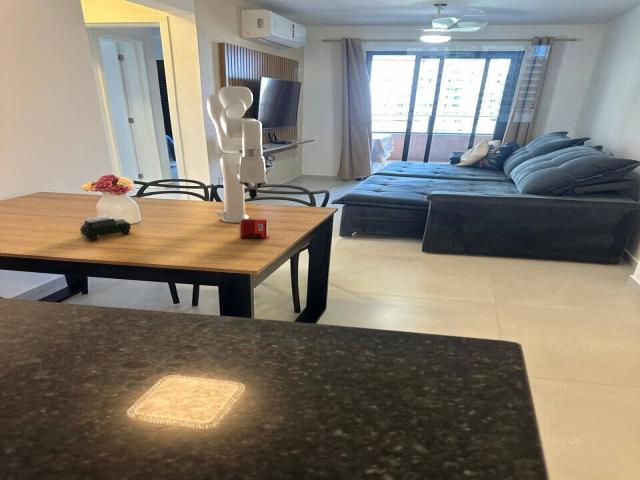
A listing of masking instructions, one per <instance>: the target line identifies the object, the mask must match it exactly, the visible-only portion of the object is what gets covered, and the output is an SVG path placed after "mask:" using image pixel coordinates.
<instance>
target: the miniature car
mask: <svg viewBox="0 0 640 480" xmlns="http://www.w3.org/2000/svg"><path fill="white" fill-rule="evenodd" d="M130 230H132V226H131V223H130V222H128V221H126V220H125V219H122V218H121V219H120V218H119V219H115V218H114V217H113V216H111V215H107V214H106V215H97V216H92V217H88V218H85V220H84V222H83V224H82V225H81V226H80V229H79V231H80V232H79V234H80V236H81V237H83V238H84V239H85V238H87V239H89V240H90V241H92V242H95V241H96V240H98V237H103V236H109V235H115V234H119V233H121V234H122V235H124V236H125V235H129V234H130V232H131V231H130Z"/></svg>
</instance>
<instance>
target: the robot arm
mask: <svg viewBox="0 0 640 480" xmlns="http://www.w3.org/2000/svg"><path fill="white" fill-rule="evenodd" d="M253 100H254V98H253V93H252V91H251V89H249V88H248V87H246V86H236V85H235V86H233V85H226V86H223V87H222V88H220V90H219V91H218V93H213V94H210V95H209V96H208V97H207V99H206V107H207V113H208V115H209V117H210V120H211V122H212V123H213V125H214V128H215V132H216V136H217V141H218V145H219V149H220V150H221V152H223V153H224V154H223V155H221V156H220V159H219V165H220V169H221V175H222V185H223V201H224V202H223V203H224V209H223V210H215V215H217V216H219V217H220V216H222V217H221V220H222V221H223V222H225V223H230V224H234V223H235V224H236V223H240V219H250V218H249V215H248V214H246V204H245V203H246V201H245V200H246V198H245V187H246V188H247V189H248V191H249V193H248V196H249V197H250V200H256V198H258V189H259V188H260V187H261V186H265V185H267V179H266V178H267V172H266V170H267V169H266V162H265V158H264V156H263V130H262V129H263V128H262V127H263V126H262V125H263V124H262V122H261V121H260V120H257V119H255V118H247V117H246V118H243V116H244V115H245V113H246V112H247V110H248V109H250V107H251V106H252V104H253ZM253 183H254V186H253Z"/></svg>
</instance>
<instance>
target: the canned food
mask: <svg viewBox="0 0 640 480" xmlns="http://www.w3.org/2000/svg"><path fill="white" fill-rule="evenodd" d="M268 226H269V225H268V219H266V218H249V219H240V222H239V226H238V227H239V237H240V239H265V238H268V233H269V232H268V231H269V229H268V228H269V227H268Z"/></svg>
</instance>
